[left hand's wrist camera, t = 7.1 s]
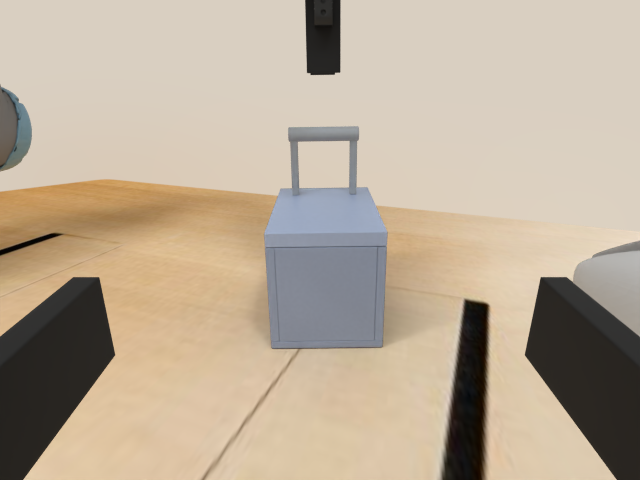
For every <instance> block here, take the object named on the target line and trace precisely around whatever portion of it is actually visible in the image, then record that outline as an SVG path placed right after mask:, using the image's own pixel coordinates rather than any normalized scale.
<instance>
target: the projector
mask: <svg viewBox="0 0 640 480" xmlns="http://www.w3.org/2000/svg"><path fill="white" fill-rule="evenodd" d="M573 283H574V284H575V285H577V286H578V287H579V288H580V289H582V290H583V291H584V292H585V293H587V294H588V295H589V296H590V297H591V298H593V299H594V300H595V301H596V302H598V303H599V304H600V305H601V306H603V307H604V308H605V309H606V310H608V311H609V312H610V313H611V314H612V315H614V316H615V317H616V318H617V319H619V320H620V321H621V322H622V323H624V324H625V325H626V326H627V327H629V328H630V329H631V330H632V331H633V332H635V333H636V334H637V335H638V336H640V241H637V242H633V243H629V244H625V245H622V246H618V247H615V248H611V249H608V250H605V251H602V252H599V253H597V254H595V255H593V257H592V258H590V259H587V260H585V261H583V262H581V263H579V264H578V265H577V267H576V269H575V272H574V277H573Z"/></svg>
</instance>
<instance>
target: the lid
mask: <svg viewBox="0 0 640 480" xmlns="http://www.w3.org/2000/svg"><path fill="white" fill-rule="evenodd" d="M288 138H289V141H290V145H291V171H292V189H280V192H279V195H278V197H277V200H276V203H275V206H274V208H273V211H272V214H271V217H270V219H269V222H268V225H267V228H266V230H265V233H264V239H265V247H336V246H387V230H386V228H385V226H384V223H383V221H382V219H381V217H380V214H379V212H378V210H377V208H376V205H375V203H374V201H373V199H372V197H371V194H370V192H369V190H368V188H367V187H364V188H356V174H357V141H358V140H359V127H358V126H356V127H355V126H354V127H291V128H288ZM298 141H350V174H349V176H350V177H349V188H299V172H298Z"/></svg>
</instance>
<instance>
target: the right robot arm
mask: <svg viewBox="0 0 640 480" xmlns="http://www.w3.org/2000/svg"><path fill="white" fill-rule="evenodd" d="M305 6H306V49H307V73H311V75H334V74H335V73H340V0H305ZM18 101H19V99H18V98H17V96H16V95H15V94H13V93H12V92H10V91H9V90H7V89H4V88H2V87H1V86H0V171H4V170H7V169H10V168H13V167H14V166H16V165H18V164H19V163H20V162H21V161H22V158H23V157H24V156H25V155H26V154H27V153H28V150H29V148H30V144H31V137H32V129H31V122H30V118H29V115H28V113H27V111H26V109H25V107H24V105H23V104H21V103H19V102H18Z"/></svg>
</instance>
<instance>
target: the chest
mask: <svg viewBox="0 0 640 480" xmlns="http://www.w3.org/2000/svg"><path fill="white" fill-rule="evenodd" d="M386 253H387V247H386V246H336V247H266V248H265V254H266V269H267V285H268V300H269V316H270V331H271V346H272V348H349V347H382V345H383V322H384V299H385V276H386Z"/></svg>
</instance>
